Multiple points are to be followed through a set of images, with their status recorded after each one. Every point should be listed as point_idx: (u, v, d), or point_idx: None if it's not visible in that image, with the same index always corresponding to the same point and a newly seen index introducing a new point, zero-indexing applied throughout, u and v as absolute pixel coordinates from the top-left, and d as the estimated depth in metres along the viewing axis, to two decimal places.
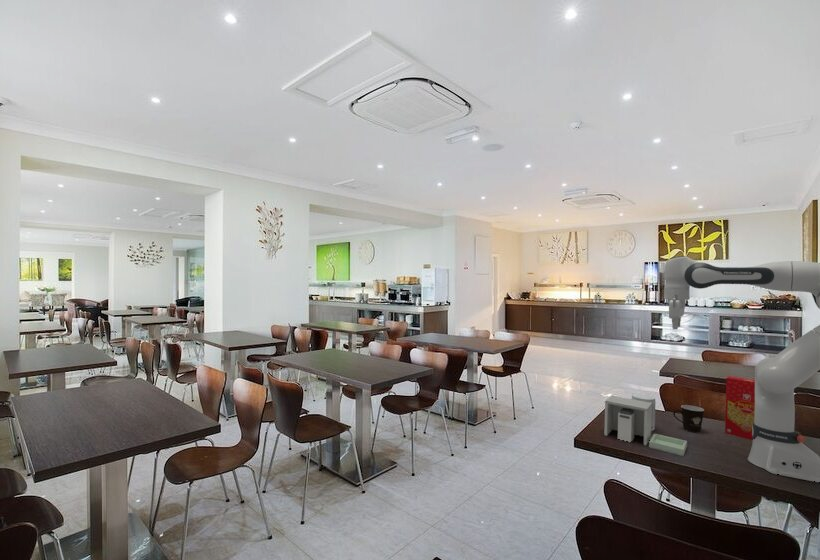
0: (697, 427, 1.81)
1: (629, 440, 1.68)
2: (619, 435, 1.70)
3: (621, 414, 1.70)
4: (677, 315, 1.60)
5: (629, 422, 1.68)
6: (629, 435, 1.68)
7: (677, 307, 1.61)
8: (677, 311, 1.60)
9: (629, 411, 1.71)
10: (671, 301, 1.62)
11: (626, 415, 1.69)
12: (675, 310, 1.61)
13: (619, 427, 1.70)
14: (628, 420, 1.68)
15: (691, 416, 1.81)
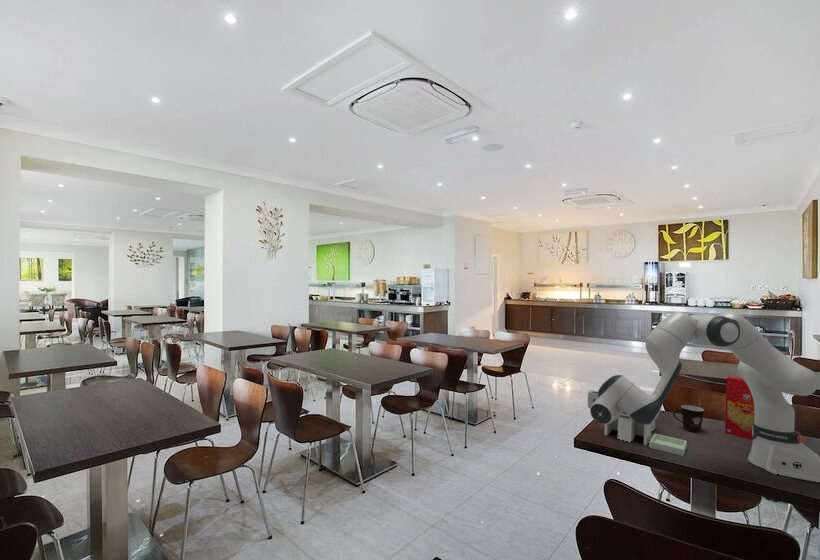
0: (697, 427, 1.81)
1: (629, 440, 1.68)
2: (619, 435, 1.70)
3: (621, 414, 1.70)
4: None
5: (629, 422, 1.68)
6: (629, 435, 1.68)
7: None
8: None
9: None
10: None
11: (626, 415, 1.69)
12: None
13: (619, 427, 1.70)
14: (628, 420, 1.68)
15: (691, 416, 1.81)
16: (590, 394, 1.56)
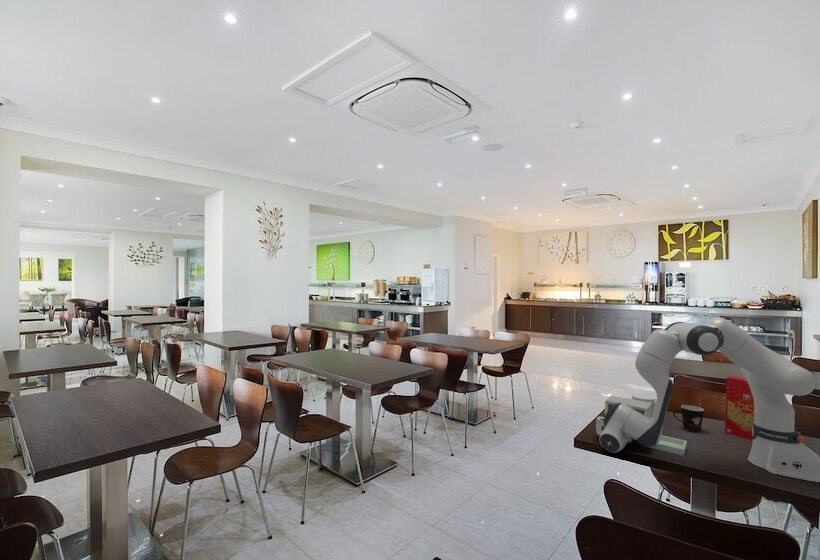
0: (697, 427, 1.81)
1: (629, 440, 1.68)
2: None
3: None
4: None
5: None
6: None
7: None
8: None
9: None
10: None
11: None
12: None
13: None
14: None
15: (691, 416, 1.81)
16: (599, 421, 1.66)
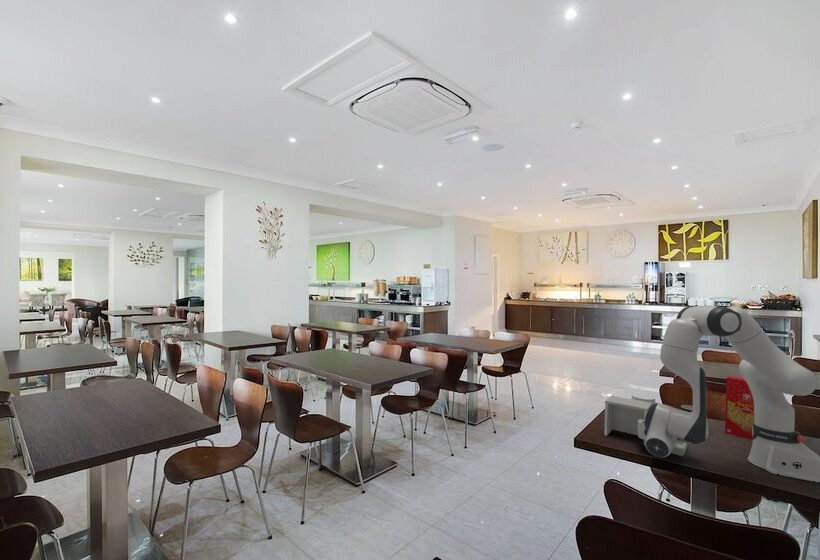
0: None
1: None
2: None
3: None
4: None
5: None
6: None
7: None
8: None
9: None
10: None
11: None
12: None
13: None
14: None
15: None
16: (641, 424, 1.58)
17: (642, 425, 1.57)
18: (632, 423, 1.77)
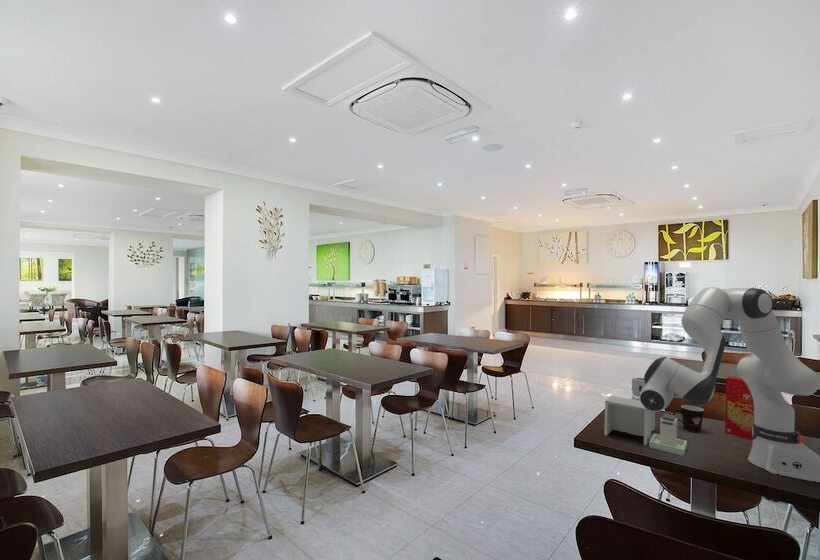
0: (697, 427, 1.81)
1: None
2: (661, 442, 1.62)
3: (664, 420, 1.61)
4: None
5: (672, 429, 1.60)
6: (672, 442, 1.59)
7: None
8: None
9: (672, 417, 1.62)
10: None
11: (669, 421, 1.60)
12: None
13: (661, 434, 1.62)
14: (671, 427, 1.60)
15: (691, 416, 1.81)
16: (635, 381, 1.48)
17: (636, 381, 1.47)
18: (632, 423, 1.77)
